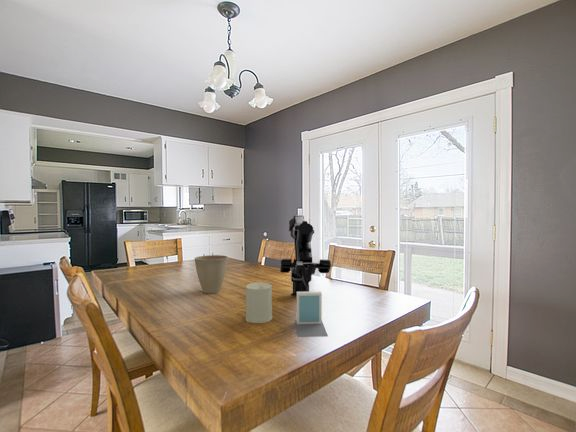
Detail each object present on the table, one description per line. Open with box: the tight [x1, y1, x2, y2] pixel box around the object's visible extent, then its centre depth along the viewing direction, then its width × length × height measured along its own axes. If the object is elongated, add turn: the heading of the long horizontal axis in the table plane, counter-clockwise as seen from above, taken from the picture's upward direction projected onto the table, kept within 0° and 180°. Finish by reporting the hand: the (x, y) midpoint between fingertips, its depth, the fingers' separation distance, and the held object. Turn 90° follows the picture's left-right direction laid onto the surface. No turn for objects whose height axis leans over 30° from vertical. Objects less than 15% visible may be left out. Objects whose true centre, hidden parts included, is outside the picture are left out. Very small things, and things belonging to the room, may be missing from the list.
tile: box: [296, 290, 323, 324], centre depth 95 cm, size 2×8×10 cm, turn 92°
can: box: [245, 282, 273, 324], centre depth 100 cm, size 9×9×12 cm
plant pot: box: [194, 254, 229, 295], centre depth 134 cm, size 15×15×16 cm
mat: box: [294, 319, 329, 338], centre depth 91 cm, size 13×9×1 cm
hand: (306, 286), depth 104 cm, fingers closed
